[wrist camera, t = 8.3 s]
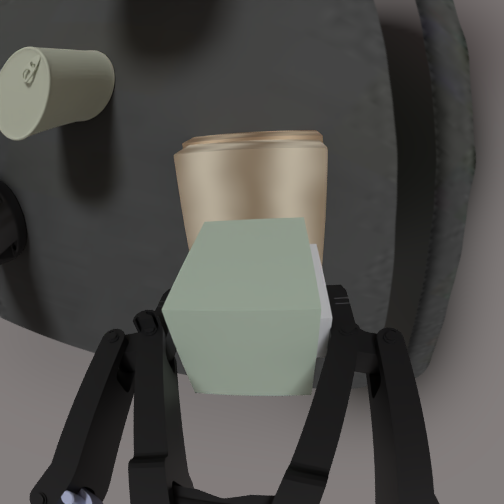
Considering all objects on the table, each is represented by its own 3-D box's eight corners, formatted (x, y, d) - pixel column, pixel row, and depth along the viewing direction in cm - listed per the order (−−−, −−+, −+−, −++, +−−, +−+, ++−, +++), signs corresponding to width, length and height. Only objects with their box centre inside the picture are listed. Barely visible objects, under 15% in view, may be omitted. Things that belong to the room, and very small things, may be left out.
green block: (218, 298, 20) (195, 392, 14) (204, 221, 17) (161, 309, 11) (303, 296, 20) (311, 394, 13) (303, 217, 17) (321, 308, 10)
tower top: (204, 254, 31) (194, 278, 27) (189, 145, 25) (173, 155, 21) (315, 253, 30) (320, 277, 26) (318, 139, 24) (327, 148, 20)
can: (129, 78, 25) (62, 79, 15) (84, 135, 29) (18, 161, 18) (87, 37, 22) (19, 30, 12) (48, 93, 25) (-19, 108, 15)
